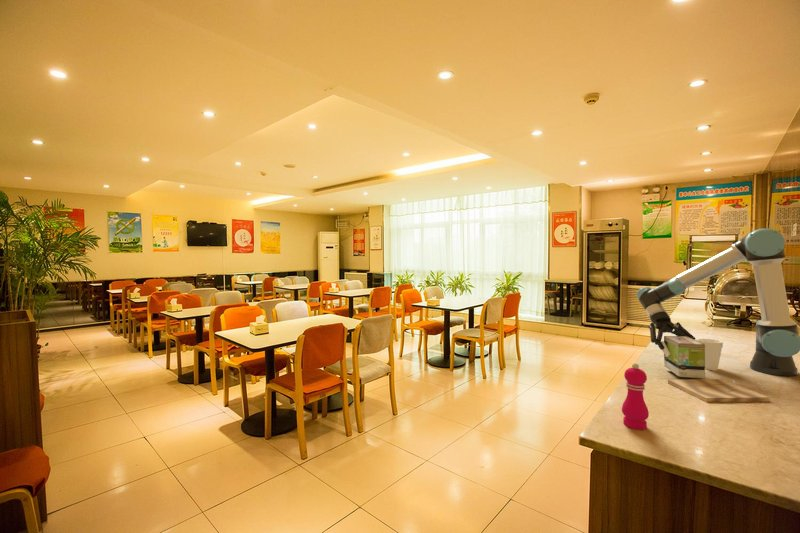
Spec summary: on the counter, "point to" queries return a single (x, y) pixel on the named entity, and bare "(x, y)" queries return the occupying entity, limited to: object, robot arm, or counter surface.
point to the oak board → (718, 390)
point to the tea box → (685, 356)
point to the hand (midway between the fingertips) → (682, 355)
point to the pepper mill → (635, 399)
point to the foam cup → (711, 352)
